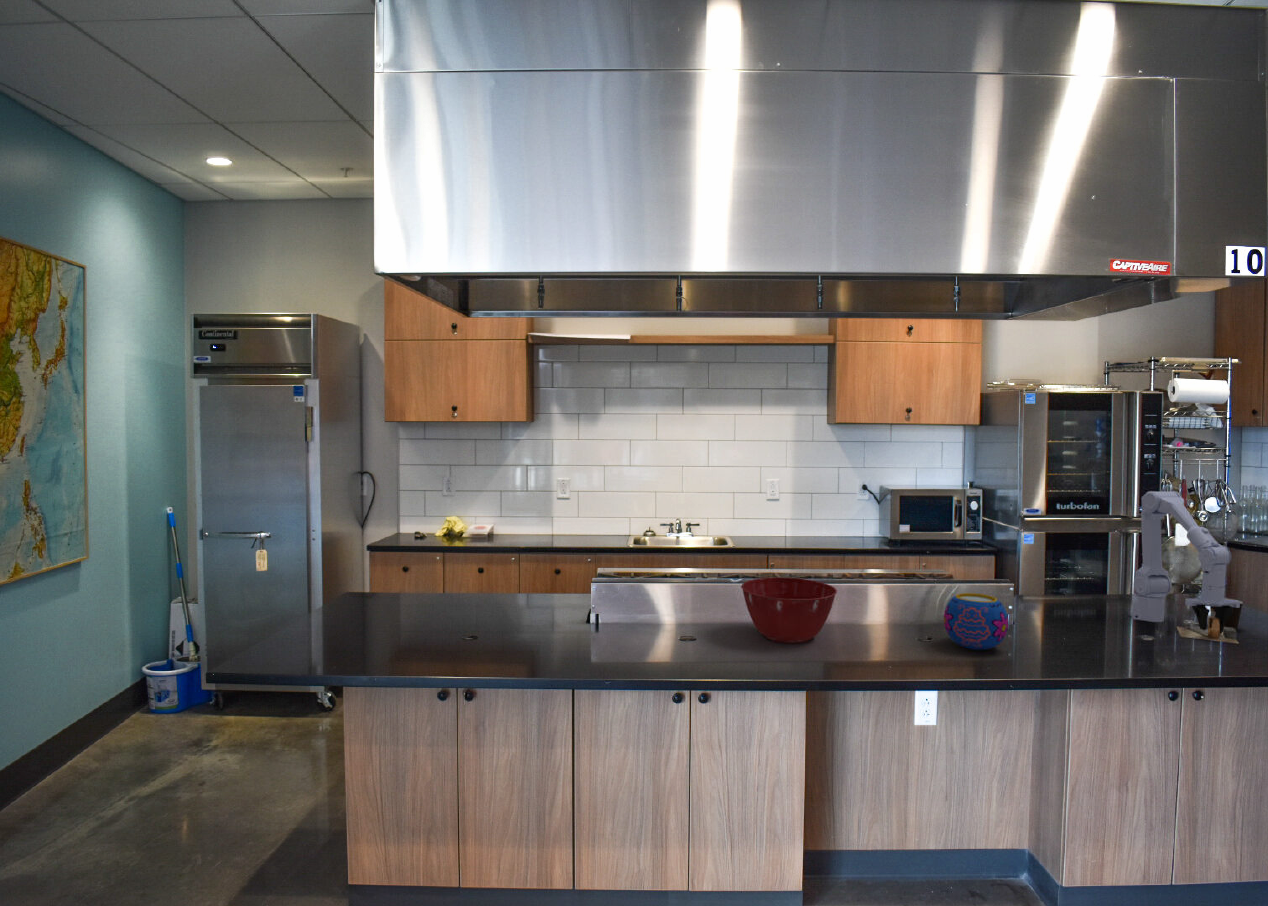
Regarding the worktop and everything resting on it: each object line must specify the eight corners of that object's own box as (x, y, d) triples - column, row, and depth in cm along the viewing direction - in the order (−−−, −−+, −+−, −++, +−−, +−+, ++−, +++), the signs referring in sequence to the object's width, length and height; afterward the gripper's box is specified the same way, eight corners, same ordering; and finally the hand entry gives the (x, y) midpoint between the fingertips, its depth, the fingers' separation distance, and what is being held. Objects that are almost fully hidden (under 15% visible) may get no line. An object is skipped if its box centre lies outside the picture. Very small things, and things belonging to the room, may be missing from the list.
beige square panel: (1180, 639, 251) (1181, 628, 251) (1176, 629, 264) (1176, 619, 263) (1238, 646, 245) (1239, 635, 244) (1231, 635, 257) (1231, 625, 256)
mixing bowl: (837, 654, 232) (839, 600, 231) (736, 647, 238) (737, 594, 237) (833, 628, 260) (835, 580, 259) (743, 622, 265) (744, 575, 264)
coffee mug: (1240, 636, 256) (1242, 605, 255) (1207, 632, 261) (1208, 601, 260) (1241, 629, 265) (1242, 598, 265) (1208, 624, 270) (1210, 594, 270)
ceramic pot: (1010, 645, 243) (1012, 595, 242) (1003, 660, 228) (1005, 607, 227) (948, 636, 252) (950, 587, 251) (937, 650, 237) (939, 599, 236)
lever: (1181, 626, 262) (1181, 607, 262) (1191, 626, 262) (1192, 607, 262) (1211, 638, 248) (1212, 618, 248) (1222, 638, 248) (1223, 619, 248)
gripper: (1195, 587, 246) (1193, 632, 247) (1247, 589, 244) (1244, 634, 245) (1182, 582, 253) (1180, 626, 254) (1232, 584, 251) (1230, 628, 252)
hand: (1211, 629), depth 250 cm, fingers open, 4 cm apart
